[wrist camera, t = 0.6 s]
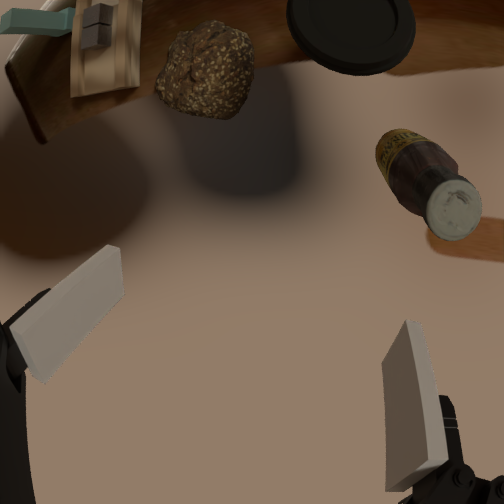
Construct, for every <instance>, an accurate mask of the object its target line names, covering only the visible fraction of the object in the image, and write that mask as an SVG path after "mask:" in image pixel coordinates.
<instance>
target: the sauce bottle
mask: <svg viewBox="0 0 504 504" xmlns="http://www.w3.org/2000/svg"><path fill="white" fill-rule="evenodd" d="M376 162H377V165H378V167H379V169H380V171H381V172H382V174H383V176H384V178H385V180H386V182H387V184H388V185H389V187H390V189H391V190H392V192H393V193H394V195H395V196H396V198H397V200H398V201H399V203H400V204H401V205H402V206H403V207H405V208H406V209H407V210H408V211H410V212H411V213H414V214H416V215H418V216H422V217H423V218H424V220H425V223H426V224H427V225H428V227H429V228H430V230H431V231H432V232H433V233H434V234H435V235H436V236H437V237H439V238H441V239H444V240H446V241H456V240H460V239H463V238H465V237H466V236H467V235H469V234H470V233H471V232H472V231H473V230H474V229H475V228H476V226H477V225H478V223H479V221H480V216H481V211H482V203H481V198H480V196H479V193H478V191H477V190H476V189H475V187H474V186H473V185H472V184H471V183H470V182H469V181H468V180H467V179H466V178H464V177H463V176H460V175H458V165H457V163H456V162H455V161H454V159H452V158H451V157H450V156H449V155H448V154H447V153H446V152H445V151H444V150H443V149H442V148H441V147H440V146H439V145H438V144H436V143H434V142H432V141H430V140H428V139H427V138H425V137H422V136H421V135H418V134H417V133H414V132H412V131H410V130H407V129H395V130H391V131H389V132H387V133H385V134H384V135H383V136H382V138H381V139H380V140H379V142H378V145H377V146H376Z"/></svg>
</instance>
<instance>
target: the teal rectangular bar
mask: <svg viewBox="0 0 504 504" xmlns="http://www.w3.org/2000/svg"><path fill="white" fill-rule="evenodd" d="M75 11H76V9H75V8H70V7H68V8H66V9H64V10H62V11H60V12H51V11H42V10H32V9H19V8H18V9H17V8H12V9H10V10H9V11H8V12H7V13H5V14H4V15H2V16H1V22H0V34H37V35H50V36H56V37H59V36H61V35H64V34H66V33H68V32H71V31H72V28H73V17H74V16H75Z"/></svg>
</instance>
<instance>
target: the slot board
mask: <svg viewBox="0 0 504 504" xmlns="http://www.w3.org/2000/svg"><path fill="white" fill-rule="evenodd" d="M142 1H143V0H77V2H76V11H75V16H74V17H73V28H72V44H71V97H81V96H89V95H93V94H98V93H103V92H109V91H114V90H120V89H126V88H132V87H139V67H140V33H141V15H142ZM99 3H103V4H106V5H110V6H113V7H114V8H113V21H112V25H110V26H111V27H112V37H111V46H109V47H106V48H102V49H99V50H95V51H94V50H82V49H81V38H82V30H83V29H86V28H82V23H83V12H84V9H86V8H88V7H91V6H93V5H96V4H99Z"/></svg>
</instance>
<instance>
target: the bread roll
mask: <svg viewBox="0 0 504 504" xmlns="http://www.w3.org/2000/svg"><path fill="white" fill-rule="evenodd" d="M253 62H254V48H253V45H252V43H251V41H250V39H249V37H248V35H247V34H246V33H244V32H241V31H240V30H238V29H232V28H230V27H229V26H225V25H224V24H223V23H222V22H219V21H217V20H211V21H206V22H204V23H201V24H199V25H198V26H197V27H196V28H195V29H194V30H193V31H190V32H188V31H187V32H184V31H180V32H179V33H178V36H177V37H176V39H175V41H174V42H173V43H172V45H171V46H170V47H169V57H168V61H167V63H166V65H165V66H164V67H163V69H162V70H161V72H160V74H159V75H158V77H157V80H156V84H155V86H156V90H157V93H158V95H159V97H160V100H163V101H164V102H165V105H166V106H167V107H171V108H174V109H175V110H177V111H179V112H181V113H187V114H190V115H195V116H201V117H207V118H215V119H224V120H227V119H230V118H232V117H234V116H235V115H236V114H237V113H239V110H240V108H241V107H242V105H243V104H244V102H245V101H246V99H247V95H248V93H249V90H250V85H251V82H252V81H253V79H254V74H253V70H254V68H253Z"/></svg>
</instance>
